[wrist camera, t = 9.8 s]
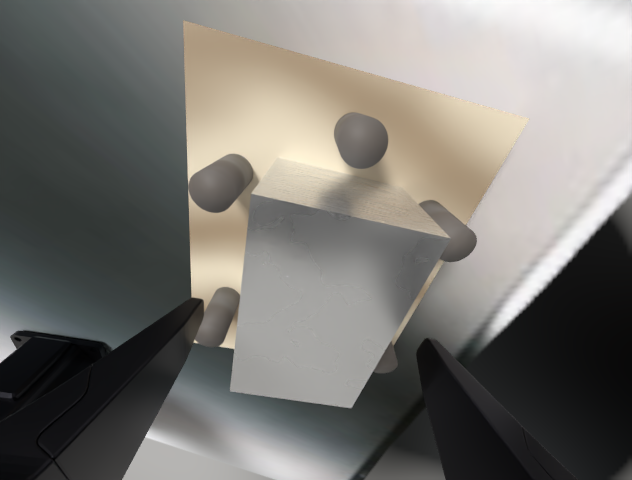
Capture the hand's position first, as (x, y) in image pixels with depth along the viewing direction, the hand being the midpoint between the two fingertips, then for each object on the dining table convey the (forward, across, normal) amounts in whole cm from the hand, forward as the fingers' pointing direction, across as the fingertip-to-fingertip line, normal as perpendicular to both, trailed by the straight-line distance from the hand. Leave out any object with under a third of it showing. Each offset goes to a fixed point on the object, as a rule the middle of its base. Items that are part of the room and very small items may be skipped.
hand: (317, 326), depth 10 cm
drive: (+5, 0, 0) cm, 5 cm away
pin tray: (+6, 0, 0) cm, 6 cm away
